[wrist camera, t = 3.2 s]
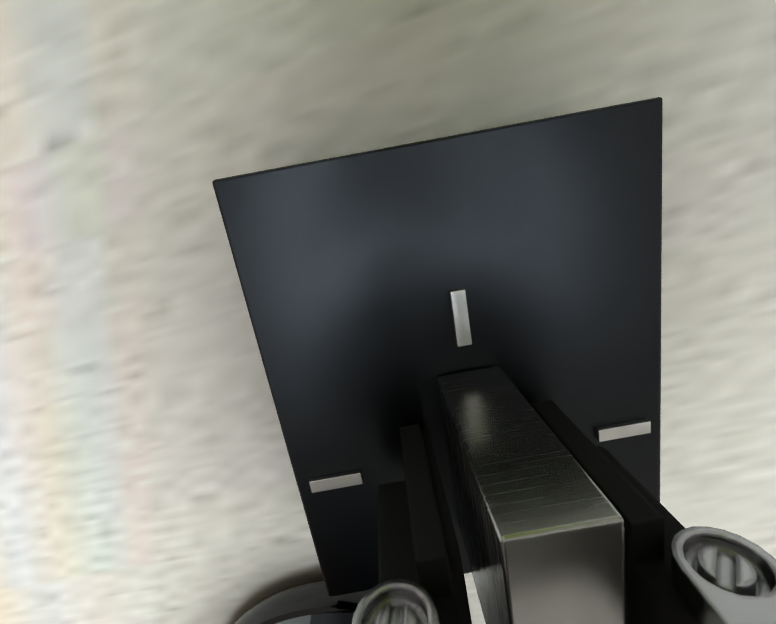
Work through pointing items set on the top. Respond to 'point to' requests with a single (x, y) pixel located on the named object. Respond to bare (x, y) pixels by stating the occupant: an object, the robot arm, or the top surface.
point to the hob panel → (452, 300)
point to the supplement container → (304, 607)
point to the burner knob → (528, 511)
